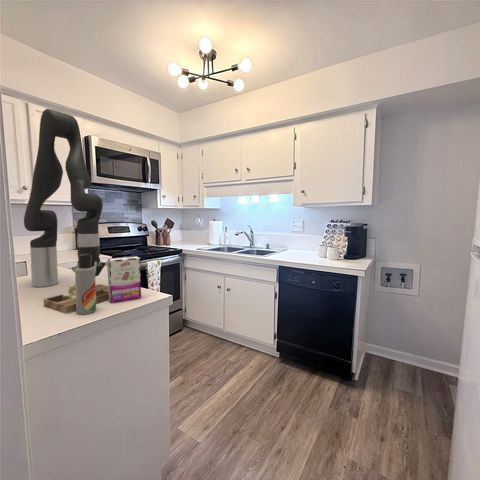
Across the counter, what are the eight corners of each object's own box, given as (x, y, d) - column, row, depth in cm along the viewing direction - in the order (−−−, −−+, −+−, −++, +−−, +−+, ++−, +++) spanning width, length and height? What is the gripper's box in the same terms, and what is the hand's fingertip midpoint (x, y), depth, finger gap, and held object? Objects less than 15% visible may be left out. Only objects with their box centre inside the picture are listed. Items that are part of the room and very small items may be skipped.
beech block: (68, 293, 96) (68, 285, 96) (81, 290, 101) (81, 282, 101) (77, 295, 94) (77, 288, 94) (90, 292, 99) (89, 284, 99)
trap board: (43, 306, 90) (43, 299, 90) (100, 289, 110) (100, 284, 110) (66, 313, 85) (66, 306, 84) (122, 295, 104) (122, 289, 104)
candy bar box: (137, 295, 105) (137, 255, 104) (141, 298, 101) (141, 257, 100) (107, 299, 99) (107, 258, 97) (110, 303, 95) (109, 260, 93)
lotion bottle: (98, 311, 87) (97, 253, 85) (79, 316, 83) (77, 255, 81) (92, 307, 91) (91, 251, 89) (74, 311, 87) (72, 253, 84)
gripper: (97, 242, 107) (98, 282, 109) (65, 245, 95) (66, 290, 97) (110, 244, 104) (111, 285, 106) (78, 247, 92) (79, 294, 94)
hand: (89, 287), depth 102 cm, fingers closed
